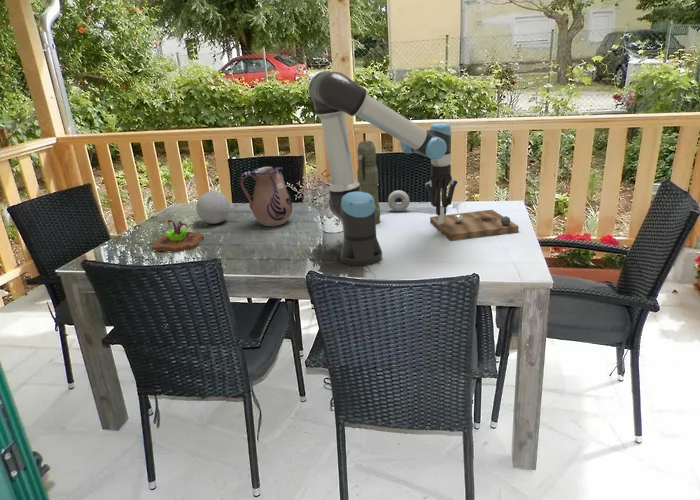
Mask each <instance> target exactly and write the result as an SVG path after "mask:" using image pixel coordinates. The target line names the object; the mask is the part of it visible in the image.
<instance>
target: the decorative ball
mask: <svg viewBox="0 0 700 500" xmlns="http://www.w3.org/2000/svg"><path fill="white" fill-rule="evenodd" d="M196 201H197V202H196V212H197V213H196V214H197V216H198V217H199V218H200V219H201V220H202V221H203V222H204V223H206V224H207V223H208V224H211V225H215V224H216V225H218V224H220V223H222V222H224V221H225V220H226V219H227V218H228V217H229V214H230V211H231V205H230V201H229V199H228V198H227V196H226V195H224V194H223V193H221V192H219V191H214V190H213V191H212V190H211V191H206V192H205V193H203V194H202V195H200V196H199V198H198V199H197V200H196Z"/></svg>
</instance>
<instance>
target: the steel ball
mask: <svg viewBox="0 0 700 500" xmlns="http://www.w3.org/2000/svg"><path fill="white" fill-rule="evenodd" d="M454 221H455V222H456V223H461V222H462V221H463V217H462V216H461V215H456V216H455V217H454Z"/></svg>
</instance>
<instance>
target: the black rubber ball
mask: <svg viewBox="0 0 700 500" xmlns="http://www.w3.org/2000/svg"><path fill="white" fill-rule="evenodd" d="M510 221H511V218H510V217H509V216H503V218H502V219H501V223H502V224H503V225H508V224H509V223H510Z"/></svg>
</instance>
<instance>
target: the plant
mask: <svg viewBox="0 0 700 500" xmlns="http://www.w3.org/2000/svg"><path fill="white" fill-rule="evenodd" d="M165 222H166V225H170V223H171V224H172V225H173V229H171V231H168V230H166V231H165V233H166V235H162V236H160V237H159V238H157V239H156V240H155V241H154V242H153V243H152V251H153V250H156V251H173V252H172V253H174V252H175V253H178V251H183V252H185V251H184V250H186V251H188V250H187V249H193V250H195V249H197V248H199V247H200V245H199V244H201V243H202V242H203V241H204V240H205V238H204V237H205V236H204V234H203V233H202V232H199V231H197V232H194V231H190V229H189V225H188V224H186V223H184V222H182V221H178V223H175V221H173V220H171V219H168V220H166V221H165ZM182 226H184V227H182ZM184 228H185V229H186V230H185V229H184ZM203 239H204V240H203ZM202 240H203V241H202ZM200 242H201V243H200ZM198 246H199V247H198ZM196 247H197V248H196ZM194 248H195V249H194Z"/></svg>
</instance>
